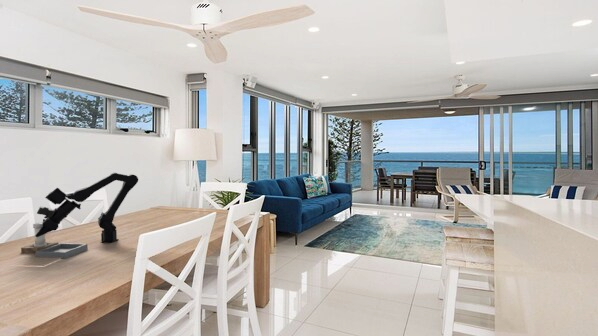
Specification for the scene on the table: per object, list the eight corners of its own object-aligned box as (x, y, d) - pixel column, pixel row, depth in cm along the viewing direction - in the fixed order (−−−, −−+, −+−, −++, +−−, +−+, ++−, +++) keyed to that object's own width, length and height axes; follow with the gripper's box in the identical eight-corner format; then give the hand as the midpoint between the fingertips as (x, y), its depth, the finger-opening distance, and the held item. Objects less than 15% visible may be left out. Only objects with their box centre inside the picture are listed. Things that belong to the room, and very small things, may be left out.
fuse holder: (58, 248, 160) (58, 242, 159) (41, 254, 150) (41, 248, 149) (39, 247, 160) (39, 241, 160) (21, 254, 150) (21, 247, 150)
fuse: (49, 246, 157) (48, 222, 156) (40, 249, 152) (39, 224, 152) (40, 246, 157) (39, 222, 157) (31, 249, 153) (30, 224, 152)
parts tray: (87, 249, 157) (87, 243, 157) (64, 258, 144) (64, 252, 143) (60, 248, 158) (60, 243, 158) (35, 258, 144) (35, 251, 144)
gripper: (49, 198, 164) (21, 222, 157) (48, 202, 149) (18, 229, 143) (68, 211, 169) (43, 235, 163) (69, 217, 154) (41, 243, 148)
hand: (36, 235), depth 154 cm, fingers closed on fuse, 4 cm apart
